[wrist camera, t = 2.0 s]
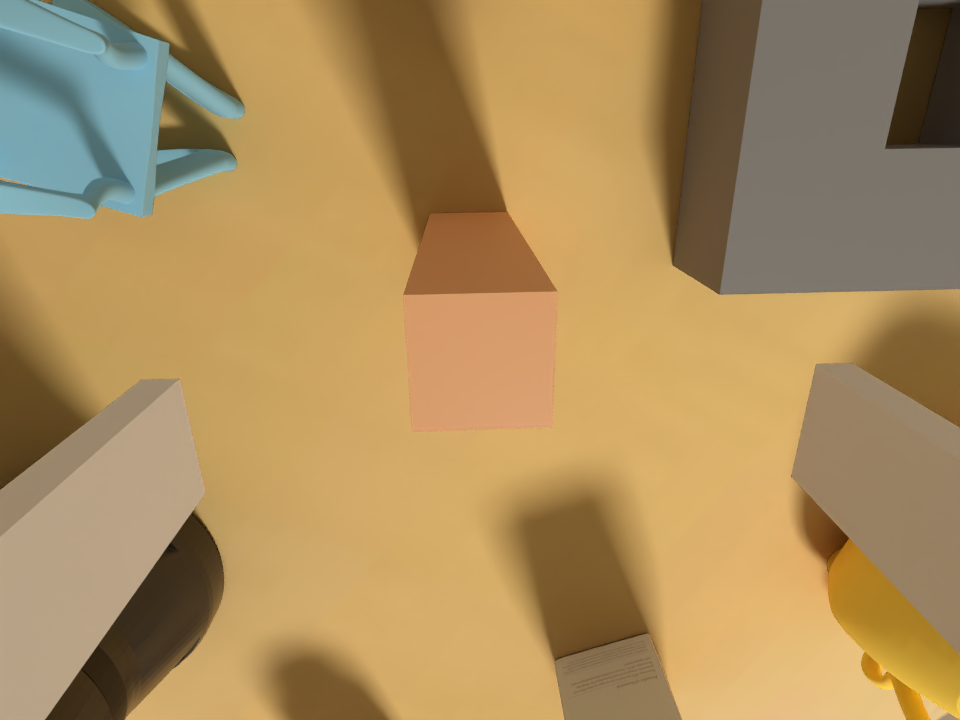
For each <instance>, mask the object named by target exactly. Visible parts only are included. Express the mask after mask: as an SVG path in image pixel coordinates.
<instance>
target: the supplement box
mask: <svg viewBox="0 0 960 720" xmlns="http://www.w3.org/2000/svg"><path fill="white" fill-rule="evenodd" d="M555 669H556V675H557V681H558V686H559V692H560V697H561V703H562V708H563V713H564V719H565V720H682V718H681V715H680V713H679V710H678V707H677V705H676V702H675V699H674V697H673V694H672V691H671V689H670V686H669V683H668V680H667V678H666V675H665V672H664V670H663V667H662V664H661V662H660V659H659V657H658V654H657V652H656V649H655V647H654V645H653V642H652V639H651V636H650V634H643V635H639V636H636V637H632V638H628V639H625V640H621V641H618V642H614V643H610V644H607V645H604V646H600V647H596V648H593V649H590V650H587V651H583V652H580V653H576V654H573V655H569V656H566V657H563V658H560V659H557V660H556V661H555Z"/></svg>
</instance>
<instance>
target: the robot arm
mask: <svg viewBox="0 0 960 720" xmlns="http://www.w3.org/2000/svg"><path fill="white" fill-rule="evenodd" d="M791 477H792V478H793V479H794V480H795V481H796V482H797V483H798V484H799V486H800V487H801V488H802V489H803V490H804V491H805V492H806V493H807V494H808V495H809V496H810V497H811V498H812V499H813V500H814V501H815V502H816V504H817V505H818V506H819V507H820V508H821V509H822V510H823V511H824V512H825V513H826V514H827V515H828V516H829V517H830V518H831V519H832V520H833V521H834V523H835V524H836V525H837V526H838V527H839V528H840V529H841V530H842V531H843V532H844V533H845V534H846V535H847V536H848V537H849V538H850V539H851V541H852V542H853V543H854V544H855V545H856V546H857V547H858V548H859V549H860V550H861V551H862V552H863V553H864V554H865V555H866V556H867V557H868V559H869V560H870V561H871V562H872V563H873V564H874V565H875V566H876V567H877V568H878V569H879V570H880V571H881V572H882V573H883V574H884V575H885V576H886V578H887V579H888V580H889V581H890V582H891V583H892V584H893V585H894V586H895V587H896V588H897V589H898V590H899V591H900V592H901V593H902V594H903V596H904V597H905V598H906V599H907V600H908V601H909V602H910V603H911V604H912V605H913V606H914V607H915V608H916V609H917V610H918V611H919V612H920V614H921V615H922V616H923V617H924V618H925V619H926V620H927V621H928V622H929V623H930V624H931V625H932V626H933V627H934V628H935V629H936V630H937V631H938V633H939V634H940V635H941V636H942V637H943V638H944V639H945V640H946V641H947V642H948V643H949V644H950V645H951V646H952V647H953V648H954V649H955V651H956V652H957V653H958V654H959V655H960V427H958V426H956V425H955V424H953V423H951V422H950V421H948V420H946V419H945V418H943V417H941V416H940V415H938V414H936V413H935V412H933V411H931V410H930V409H928V408H926V407H925V406H923V405H921V404H920V403H918V402H916V401H915V400H913V399H911V398H910V397H908V396H906V395H905V394H903V393H901V392H900V391H898V390H896V389H895V388H893V387H891V386H890V385H888V384H886V383H885V382H883V381H881V380H880V379H878V378H876V377H875V376H873V375H871V374H870V373H868V372H866V371H865V370H863V369H861V368H860V367H858V366H856V365H855V364H853V363H834V364H816V366H815V371H814V376H813V380H812V385H811V389H810V394H809V398H808V403H807V407H806V412H805V416H804V421H803V425H802V430H801V434H800V439H799V443H798V448H797V452H796V457H795V461H794V466H793V470H792V475H791ZM204 494H205V488H204V484H203V480H202V475H201V471H200V466H199V462H198V458H197V453H196V449H195V445H194V440H193V436H192V431H191V427H190V423H189V418H188V414H187V409H186V405H185V401H184V396H183V392H182V388H181V383H180V379H153V380H141V381H139V382H138V383H137V384H135V385H134V386H133V387H132V388H130V389H129V390H128V391H126V392H125V393H124V394H123V395H121V396H120V397H119V398H117V399H116V400H115V401H114V402H112V403H111V404H110V405H108V406H107V407H106V408H105V409H103V410H102V411H101V412H100V413H98V414H97V415H96V416H94V417H93V418H92V419H91V420H89V421H88V422H87V423H85V424H84V425H83V426H82V427H80V428H79V429H78V430H76V431H75V432H74V433H73V434H71V435H70V436H69V437H67V438H66V439H65V440H64V441H62V442H61V443H60V444H58V445H57V446H56V447H55V448H53V449H52V450H51V451H49V452H48V453H47V454H46V455H44V456H43V457H42V458H41V459H39V460H38V461H37V462H35V463H34V464H33V465H32V466H30V467H29V468H28V469H26V470H25V471H24V472H23V473H21V474H20V475H19V476H17V477H16V478H15V479H14V480H12V481H11V482H10V483H8V484H7V485H6V486H5V487H3V488H2V489H1V490H0V720H125V719H126V717H127V716H128V715H129V714H130V712H131V711H132V710H133V709H134V708H135V707H136V706H137V705H138V704H139V703H140V702H141V701H142V700H143V699H144V698H145V697H146V696H147V695H148V694H149V693H150V692H151V691H152V690H153V689H154V688H155V687H156V686H157V685H158V684H159V683H160V682H161V681H162V680H163V679H164V677H165V676H166V675H167V674H168V673H169V672H170V671H171V670H172V669H173V668H175V667H176V666H178V665H179V664H180V663H181V662H182V661H183V660H184V659H185V658H187V657H188V656H189V655H190V654H191V653H192V652H193V651H194V649H195V648H196V647H197V645H198V644H199V643H200V641H201V640H202V639H203V637H204V635H205V634H206V632H207V630H208V628H209V626H210V624H211V622H212V620H213V618H214V616H215V614H216V612H217V610H218V608H219V605H220V603H221V599H222V595H223V590H224V572H223V567H222V562H221V559H220V556H219V553H218V551H217V549H216V547H215V544H214V543H213V541H212V539H211V537H210V536H209V534H208V533H207V531H206V530H205V529H204V528H203V526H202V525H201V524H200V523H199V522H198V521H197V519H196V518H195V517H194V516H193V515H192V514H191V513H192V511H193V510H194V508H195V507H196V506H197V504H198V503H199V501H200V500H201V499H202V497H203V496H204Z"/></svg>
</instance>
